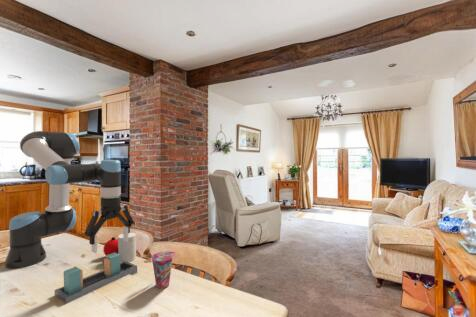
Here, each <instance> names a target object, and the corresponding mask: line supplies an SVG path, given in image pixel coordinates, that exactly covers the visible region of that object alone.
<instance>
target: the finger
mask: <svg viewBox="0 0 476 317" xmlns="http://www.w3.org/2000/svg"><path fill="white" fill-rule="evenodd" d="M103 260H104V261H103V262H104V267H103V268H104V269H103V270H104V274H106V277H107V278H108V277H110V276H112V275H115V274H117V273H119V272H120V263H121V262H120V254H117V253H112V254H109V255H105V258H104V259H103Z"/></svg>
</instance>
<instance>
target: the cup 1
mask: <svg viewBox="0 0 476 317" xmlns="http://www.w3.org/2000/svg"><path fill="white" fill-rule="evenodd" d="M117 239H118V254H120V263H122V262H124V261H127V262H129V263H131V262H133V261H135V260H136V259H137V234H136V233H135V232H130V233H128V242H126V241H123V233H120V234H118V236H117ZM134 259H135V260H134ZM132 260H133V261H132Z"/></svg>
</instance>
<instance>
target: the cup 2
mask: <svg viewBox="0 0 476 317" xmlns="http://www.w3.org/2000/svg"><path fill="white" fill-rule="evenodd" d="M175 254H176V252H175V251H160V252H157V253H154V254H152V256H151V258H150V259H151V261H152V266H153V268H152V269H153V274H154V280H155V287H156V288H157V289H166V288H168V287H169V286H170V281H171V273H172V266H173V258H174V255H175Z"/></svg>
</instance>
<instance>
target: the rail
mask: <svg viewBox="0 0 476 317" xmlns="http://www.w3.org/2000/svg"><path fill="white" fill-rule="evenodd" d="M137 273H138V265H136V264H133V263H131V262H127V261H124V262H120V272H119V273H117V274H115V275H112V276H110V277H108V278H107V277H106V274H104V269H103V270H100V271H98V272H95V273H93V274H90V275H88V276H85V277H83V287H81V290H79V291H77V292H74V293H72V294H70V295H67V294H66V293H64V286H62V287H58V288H57V289H54V296H55V298H57V299H58V300H60V301H62V302H63V303H64V304H66V305H67V304H69V303H71V302H73V301H75V300H77V299H79V298H82V297H83V296H86V295H89V294H90V293H92V292H94V291H96V290H99V289H101V288H103V287H104V286H105V287H106V286H107V285H110V284H112V283H113V282H116V281H118V280H121V279H123V278H124V277H127V276H128V275H131V276H133V275H135V274H137Z"/></svg>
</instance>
